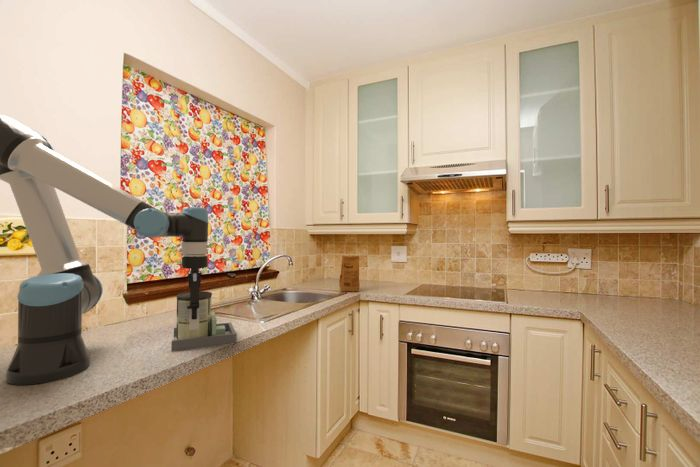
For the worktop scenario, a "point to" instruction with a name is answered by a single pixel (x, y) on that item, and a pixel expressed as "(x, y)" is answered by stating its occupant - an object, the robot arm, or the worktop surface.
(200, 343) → the grey tray
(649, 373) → the worktop surface
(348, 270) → the coffee package
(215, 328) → the pusher
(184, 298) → the coffee can
